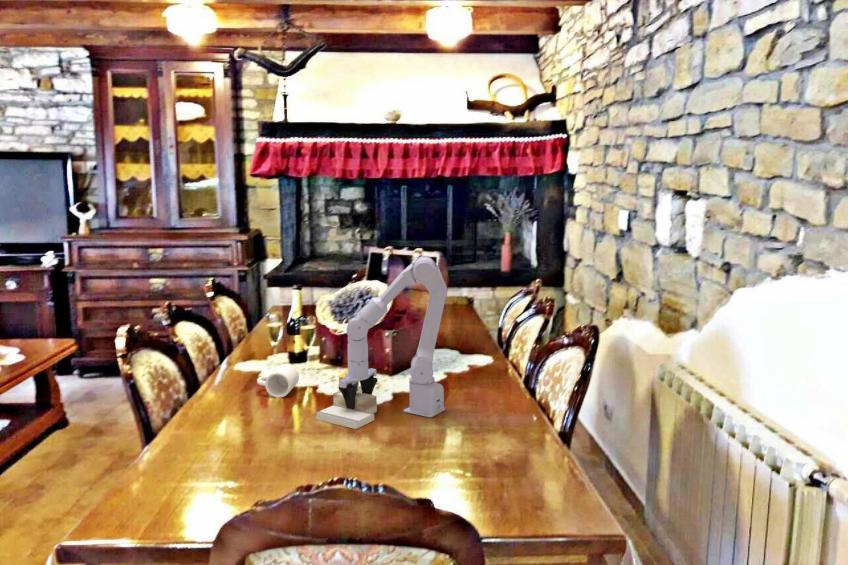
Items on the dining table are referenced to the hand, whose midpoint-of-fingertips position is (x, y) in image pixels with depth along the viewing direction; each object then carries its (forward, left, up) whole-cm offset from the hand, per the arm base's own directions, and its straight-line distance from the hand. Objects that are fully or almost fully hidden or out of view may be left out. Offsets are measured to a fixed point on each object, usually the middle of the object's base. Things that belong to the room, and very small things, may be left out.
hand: (358, 405), depth 204 cm
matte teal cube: (+3, 0, +3) cm, 4 cm away
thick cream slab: (+1, 0, -2) cm, 3 cm away
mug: (+33, 0, -2) cm, 33 cm away
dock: (-1, +7, -2) cm, 8 cm away
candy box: (+12, -10, -2) cm, 16 cm away
